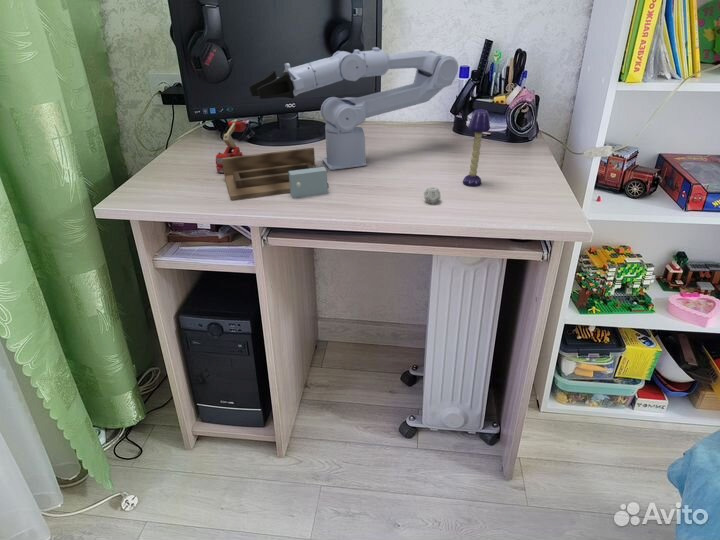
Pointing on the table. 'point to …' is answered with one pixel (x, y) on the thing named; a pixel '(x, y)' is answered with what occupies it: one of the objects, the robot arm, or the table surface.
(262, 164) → the track base
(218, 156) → the toy fire truck
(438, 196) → the game die
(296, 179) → the grey-blue rectangular block
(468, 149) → the table surface
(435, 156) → the table surface
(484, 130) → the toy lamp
